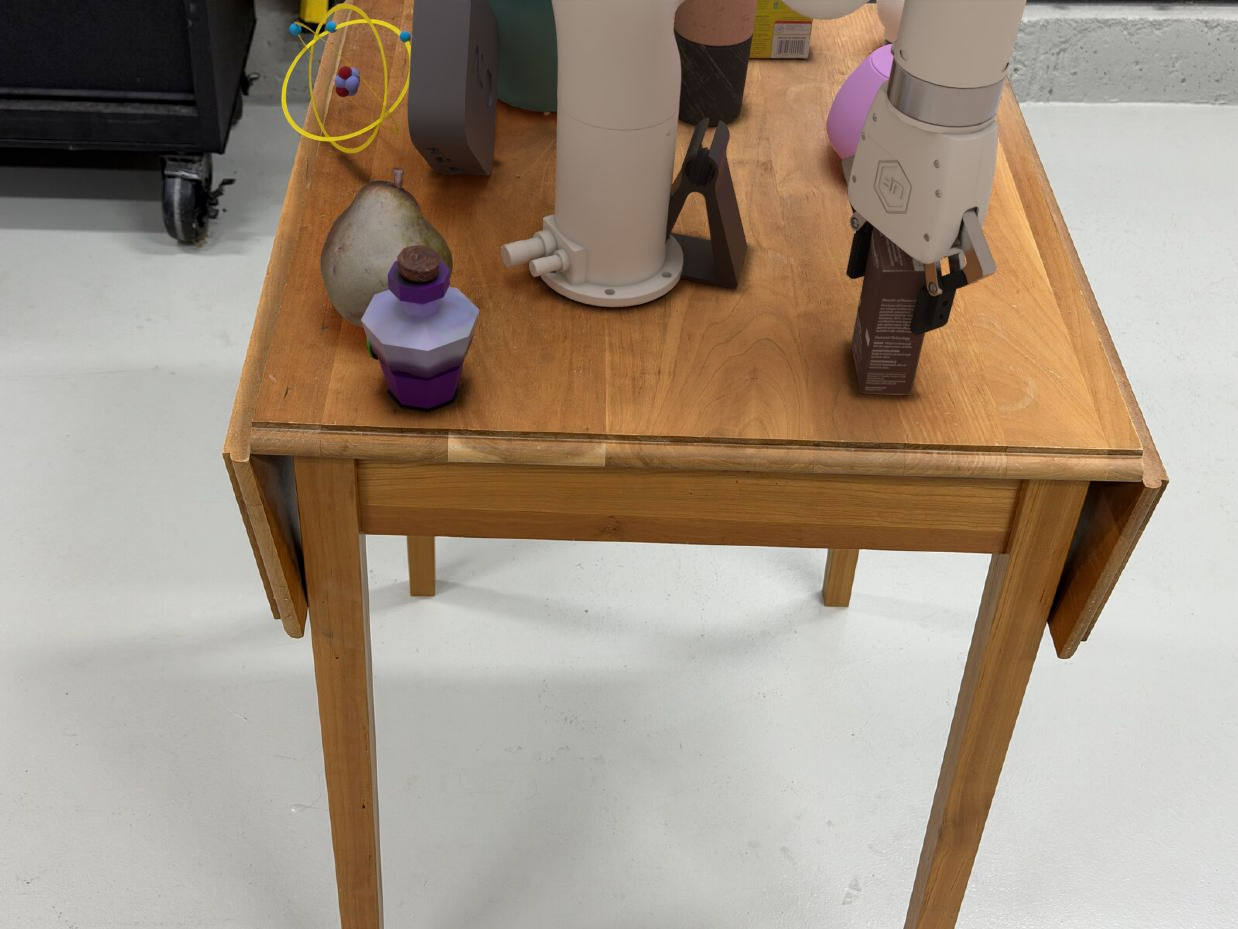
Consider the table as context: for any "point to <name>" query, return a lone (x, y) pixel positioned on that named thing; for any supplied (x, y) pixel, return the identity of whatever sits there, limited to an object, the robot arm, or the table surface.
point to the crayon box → (780, 31)
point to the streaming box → (454, 85)
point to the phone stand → (709, 211)
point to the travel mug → (713, 57)
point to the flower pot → (527, 54)
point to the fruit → (374, 244)
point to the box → (887, 320)
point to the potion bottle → (420, 331)
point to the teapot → (857, 101)
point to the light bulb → (890, 18)
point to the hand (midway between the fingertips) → (895, 298)
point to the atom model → (345, 77)
